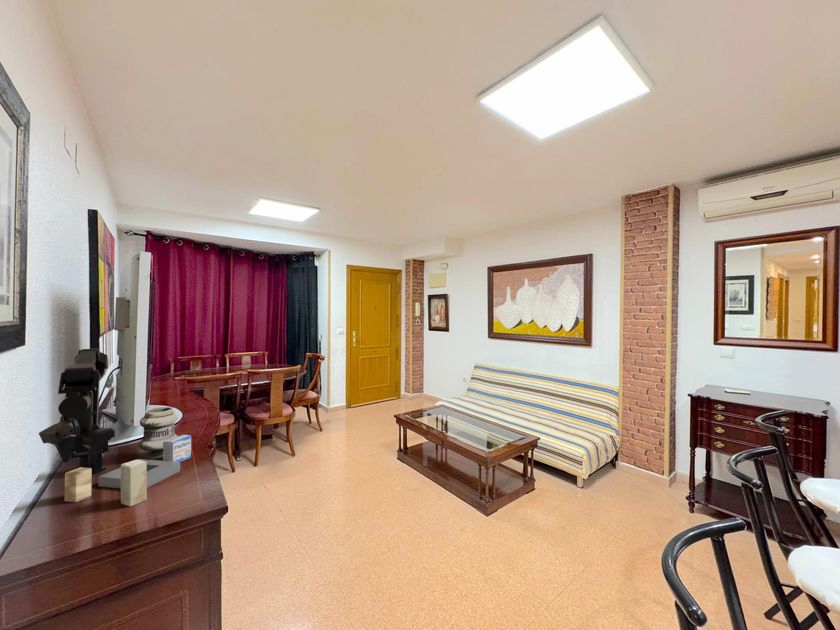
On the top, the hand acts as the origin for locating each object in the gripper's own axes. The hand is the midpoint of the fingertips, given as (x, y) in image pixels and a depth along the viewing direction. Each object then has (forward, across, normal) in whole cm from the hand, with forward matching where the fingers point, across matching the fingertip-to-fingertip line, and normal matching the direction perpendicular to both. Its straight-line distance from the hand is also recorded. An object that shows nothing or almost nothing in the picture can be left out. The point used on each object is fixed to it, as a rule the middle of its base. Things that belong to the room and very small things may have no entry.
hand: (78, 463), depth 103 cm
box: (+10, +18, +1) cm, 21 cm away
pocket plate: (+10, +6, +14) cm, 18 cm away
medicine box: (+10, +6, +28) cm, 30 cm away
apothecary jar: (+10, -5, +31) cm, 33 cm away
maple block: (+10, 0, 0) cm, 10 cm away
